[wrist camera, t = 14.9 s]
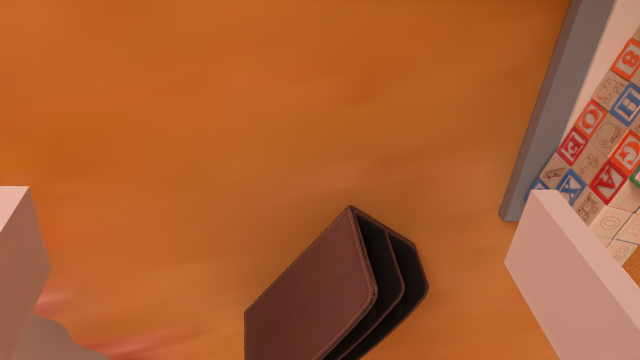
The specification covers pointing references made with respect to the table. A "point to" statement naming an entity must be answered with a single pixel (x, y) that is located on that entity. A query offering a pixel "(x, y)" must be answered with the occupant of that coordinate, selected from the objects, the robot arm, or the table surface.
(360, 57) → the table surface
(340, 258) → the letter holder
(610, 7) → the base board
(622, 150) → the stack of blocks
